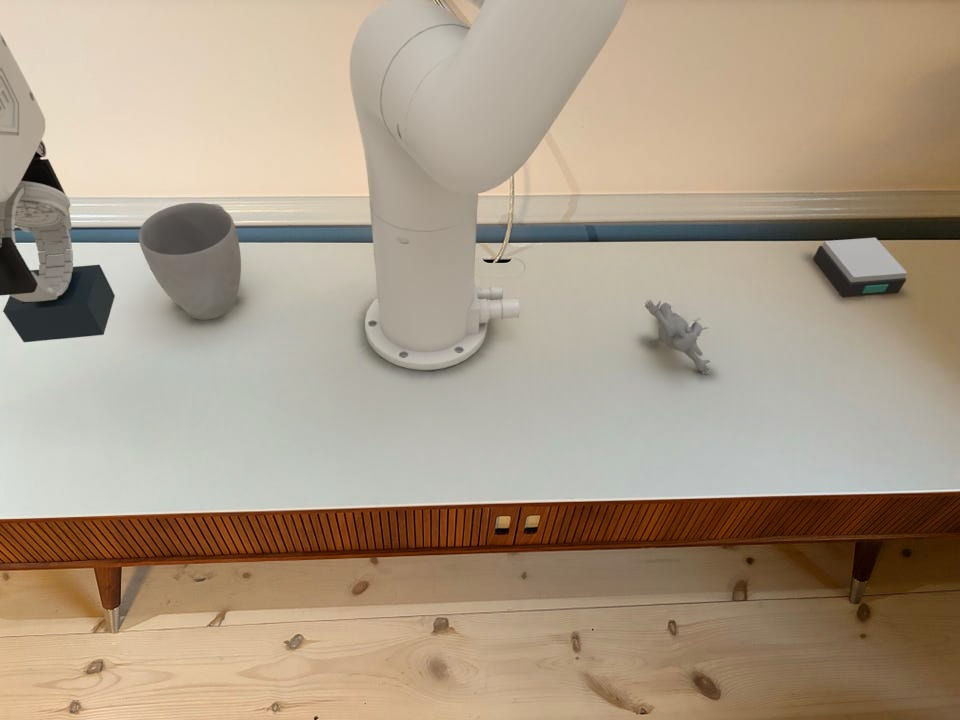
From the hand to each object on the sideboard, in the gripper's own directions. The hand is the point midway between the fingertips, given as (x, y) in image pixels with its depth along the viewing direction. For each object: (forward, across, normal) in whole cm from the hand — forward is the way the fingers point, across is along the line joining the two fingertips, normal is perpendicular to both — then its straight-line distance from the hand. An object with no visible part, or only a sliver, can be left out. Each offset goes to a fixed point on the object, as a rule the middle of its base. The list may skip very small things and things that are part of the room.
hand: (30, 248), depth 48 cm
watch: (+7, 0, 0) cm, 7 cm away
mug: (+21, +18, -5) cm, 28 cm away
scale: (+22, +13, -78) cm, 82 cm away
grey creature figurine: (+22, +4, -51) cm, 56 cm away
